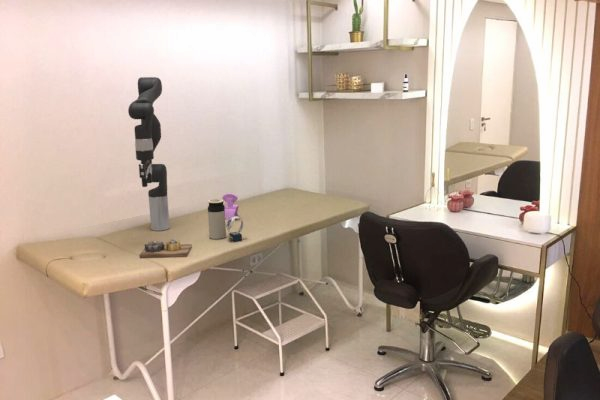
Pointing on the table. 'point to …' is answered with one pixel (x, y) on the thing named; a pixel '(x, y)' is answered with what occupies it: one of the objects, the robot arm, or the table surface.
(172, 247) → the brass gear
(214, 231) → the travel mug
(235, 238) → the watch
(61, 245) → the table surface
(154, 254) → the gear board
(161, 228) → the robot arm
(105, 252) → the table surface
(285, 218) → the table surface
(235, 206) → the toy chair
